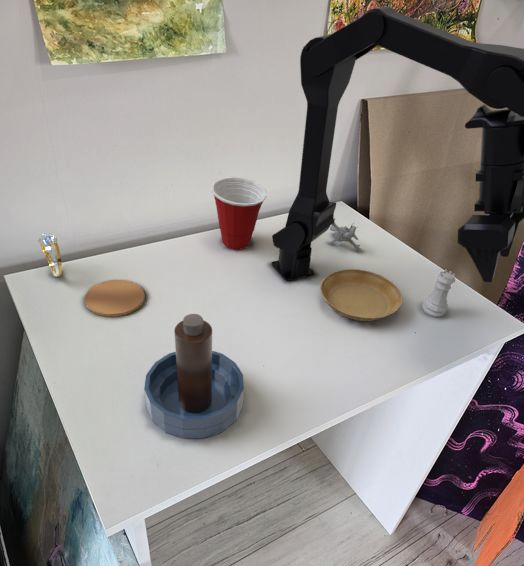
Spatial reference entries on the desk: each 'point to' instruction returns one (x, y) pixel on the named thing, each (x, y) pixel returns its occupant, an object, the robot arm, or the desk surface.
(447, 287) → the rook chess piece
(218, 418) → the bowl
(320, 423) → the desk surface
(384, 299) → the plant saucer
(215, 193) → the plastic cup
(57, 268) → the ring
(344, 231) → the gray branched figurine
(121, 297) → the cork coaster
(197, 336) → the bottle
